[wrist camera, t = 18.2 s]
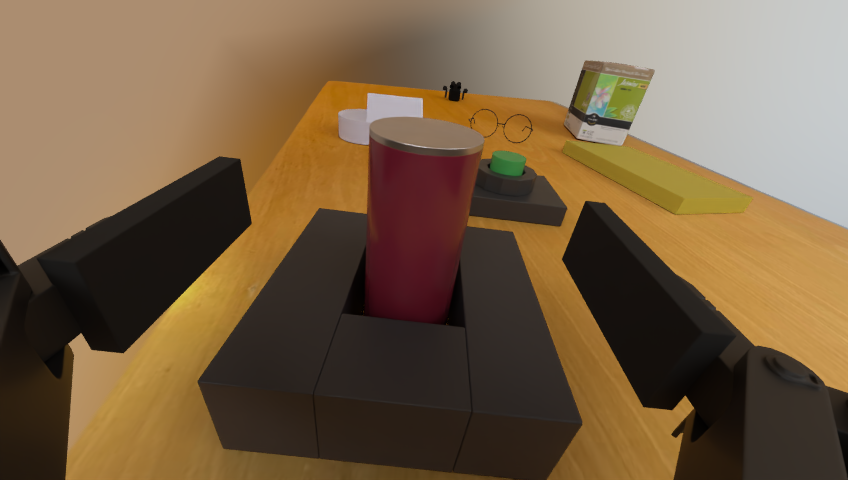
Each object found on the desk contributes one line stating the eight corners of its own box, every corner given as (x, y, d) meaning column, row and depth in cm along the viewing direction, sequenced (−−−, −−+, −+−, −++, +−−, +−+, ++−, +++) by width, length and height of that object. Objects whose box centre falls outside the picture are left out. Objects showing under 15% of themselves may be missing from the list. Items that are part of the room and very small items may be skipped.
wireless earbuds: (441, 99, 96) (444, 80, 93) (441, 98, 98) (444, 79, 95) (465, 102, 96) (468, 83, 93) (465, 101, 98) (468, 82, 95)
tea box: (623, 147, 70) (657, 68, 62) (575, 139, 71) (602, 61, 63) (603, 131, 83) (629, 64, 75) (562, 125, 84) (583, 58, 76)
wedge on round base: (415, 134, 60) (341, 127, 58) (419, 93, 57) (341, 85, 55) (420, 149, 53) (335, 142, 51) (425, 104, 49) (334, 94, 47)
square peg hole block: (222, 449, 14) (196, 381, 12) (322, 260, 25) (319, 207, 23) (545, 483, 14) (584, 423, 12) (498, 281, 26) (513, 231, 23)
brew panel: (447, 212, 35) (453, 176, 33) (446, 180, 42) (451, 149, 40) (560, 226, 35) (573, 191, 33) (539, 192, 43) (548, 162, 41)
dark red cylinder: (355, 369, 18) (358, 138, 11) (371, 308, 22) (379, 111, 15) (441, 378, 18) (491, 155, 11) (441, 317, 22) (478, 124, 15)
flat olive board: (743, 212, 45) (615, 154, 64) (753, 197, 44) (620, 142, 63) (675, 214, 42) (562, 152, 61) (684, 198, 40) (566, 140, 60)
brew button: (491, 175, 35) (495, 159, 34) (487, 163, 38) (490, 149, 37) (525, 179, 35) (529, 163, 34) (518, 167, 38) (522, 153, 37)
